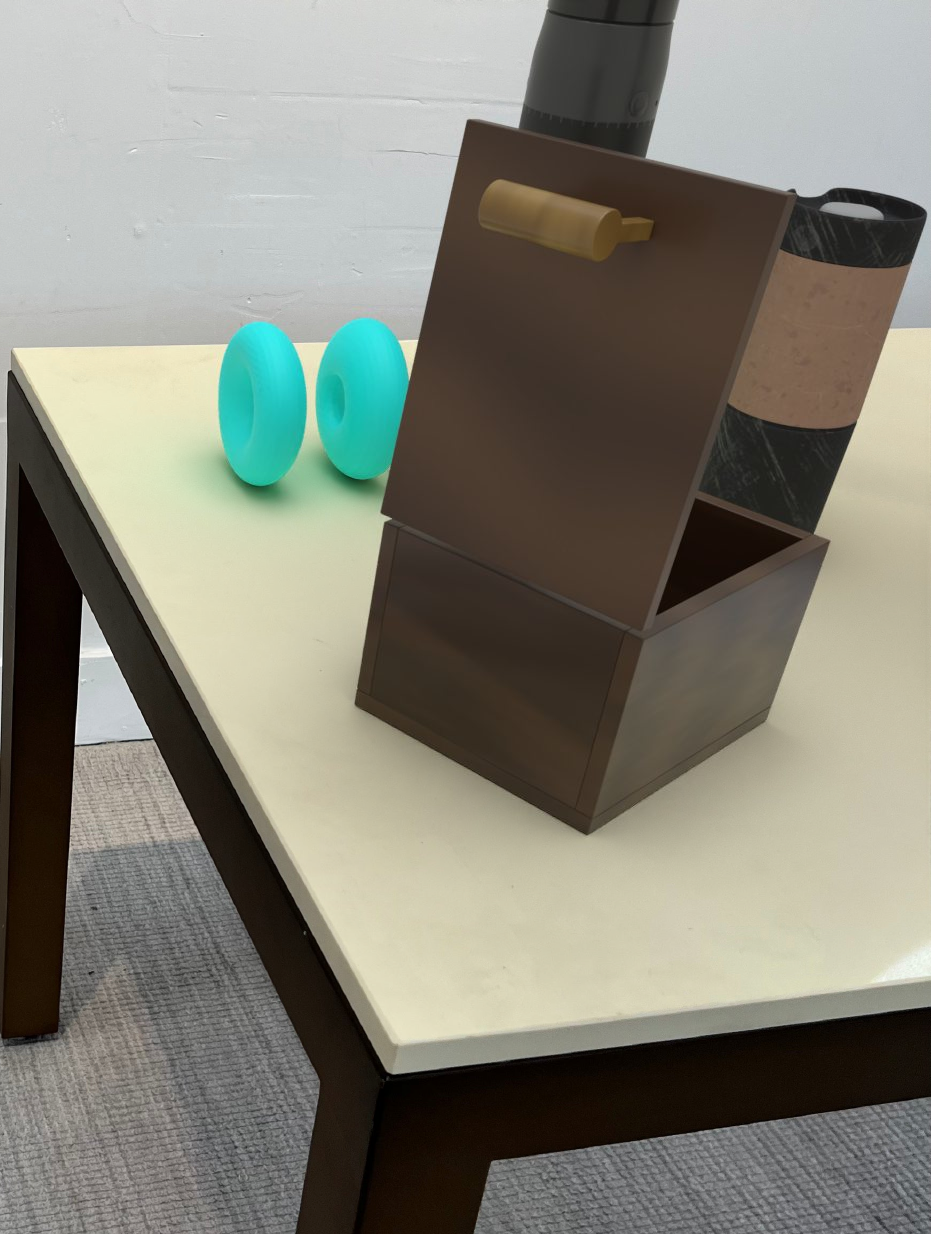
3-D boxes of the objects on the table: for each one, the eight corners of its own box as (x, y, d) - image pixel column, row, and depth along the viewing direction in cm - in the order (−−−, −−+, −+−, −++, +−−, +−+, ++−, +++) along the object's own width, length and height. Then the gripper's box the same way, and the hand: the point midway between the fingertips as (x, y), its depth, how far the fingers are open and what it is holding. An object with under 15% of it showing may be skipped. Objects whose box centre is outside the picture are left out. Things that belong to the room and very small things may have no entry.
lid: (478, 118, 59) (400, 118, 56) (799, 193, 51) (727, 198, 48) (390, 510, 68) (318, 529, 65) (651, 628, 60) (583, 655, 57)
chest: (540, 614, 82) (581, 445, 77) (766, 720, 74) (831, 540, 69) (353, 704, 74) (383, 521, 68) (587, 835, 66) (643, 640, 60)
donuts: (206, 451, 99) (219, 301, 94) (345, 443, 102) (366, 296, 96) (254, 513, 92) (271, 353, 86) (402, 503, 94) (429, 347, 88)
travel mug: (800, 578, 88) (923, 229, 76) (671, 545, 91) (770, 204, 79) (819, 532, 93) (937, 200, 82) (697, 502, 96) (793, 178, 84)
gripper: (735, 121, 83) (658, 399, 93) (527, 75, 92) (476, 335, 101) (663, 134, 79) (590, 425, 89) (452, 85, 87) (406, 356, 97)
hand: (529, 377), depth 95 cm, fingers open, 8 cm apart
